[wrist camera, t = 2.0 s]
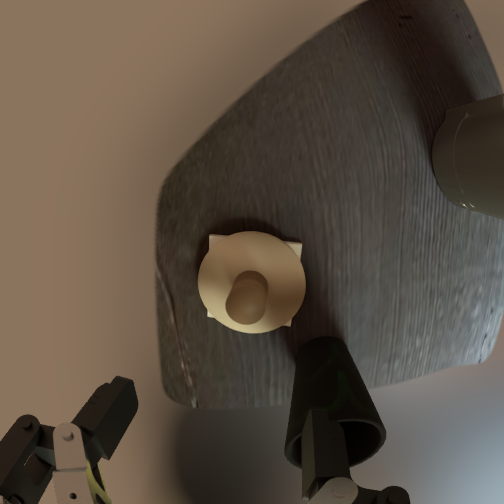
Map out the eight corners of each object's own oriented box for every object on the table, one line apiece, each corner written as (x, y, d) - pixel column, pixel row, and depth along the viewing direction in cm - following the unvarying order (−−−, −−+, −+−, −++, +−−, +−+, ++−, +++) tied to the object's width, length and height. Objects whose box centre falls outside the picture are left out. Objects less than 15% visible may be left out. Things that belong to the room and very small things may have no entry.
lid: (201, 226, 25) (183, 239, 20) (311, 236, 24) (318, 252, 19) (200, 322, 27) (185, 349, 23) (297, 333, 26) (299, 363, 22)
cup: (311, 393, 29) (316, 480, 18) (271, 353, 28) (263, 445, 17) (369, 360, 27) (399, 445, 16) (335, 313, 26) (361, 402, 15)
